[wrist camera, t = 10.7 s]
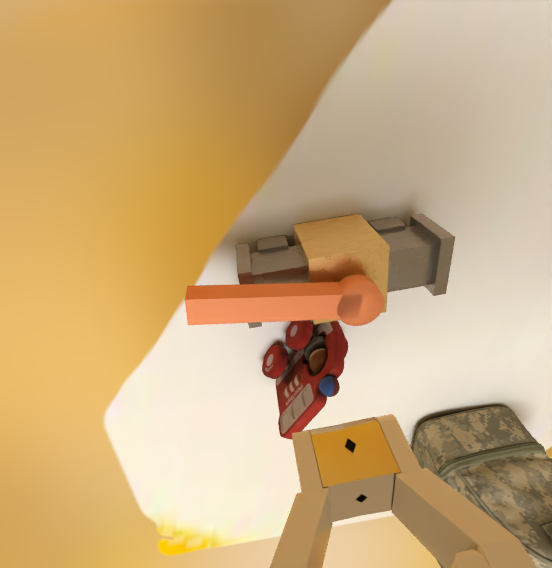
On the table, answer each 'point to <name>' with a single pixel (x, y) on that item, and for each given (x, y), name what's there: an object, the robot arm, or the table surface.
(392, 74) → the table surface
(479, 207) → the table surface
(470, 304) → the table surface
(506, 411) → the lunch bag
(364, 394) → the table surface
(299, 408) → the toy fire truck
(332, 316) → the lever
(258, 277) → the pipe valve
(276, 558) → the robot arm
